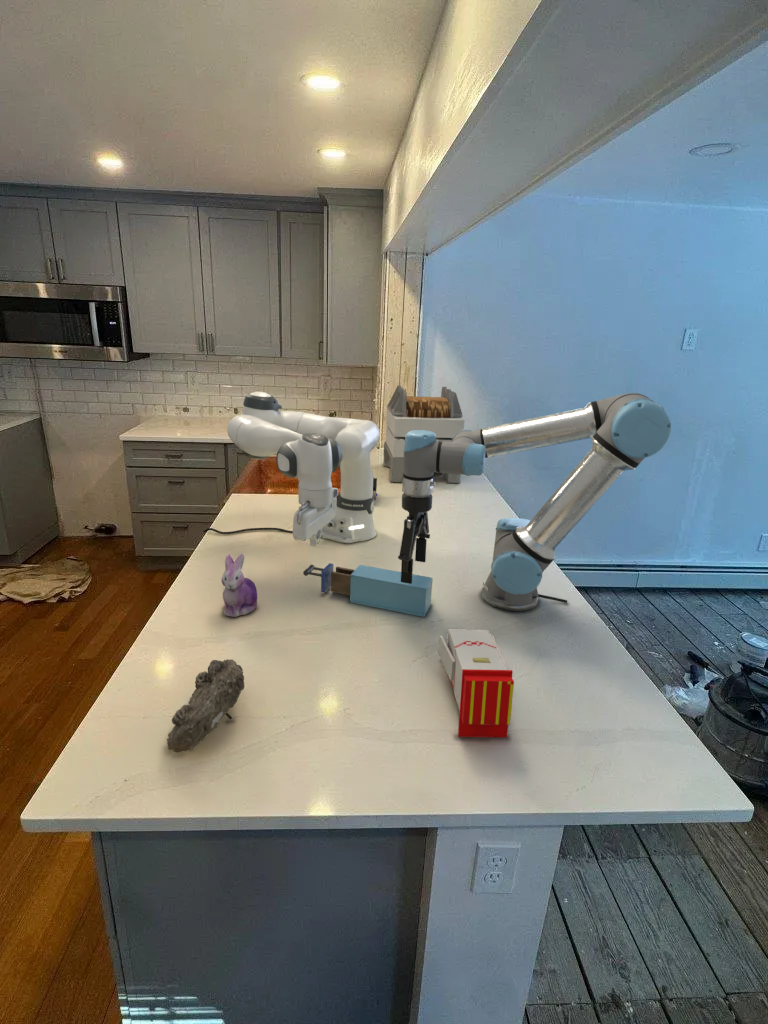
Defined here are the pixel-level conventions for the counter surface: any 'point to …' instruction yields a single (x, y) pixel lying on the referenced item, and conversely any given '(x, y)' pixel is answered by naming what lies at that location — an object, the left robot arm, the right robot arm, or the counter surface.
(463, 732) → the toy
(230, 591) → the figurine
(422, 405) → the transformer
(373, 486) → the figurine character
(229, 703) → the fossil
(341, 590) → the drawer
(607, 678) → the counter surface
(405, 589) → the light-blue storage box
